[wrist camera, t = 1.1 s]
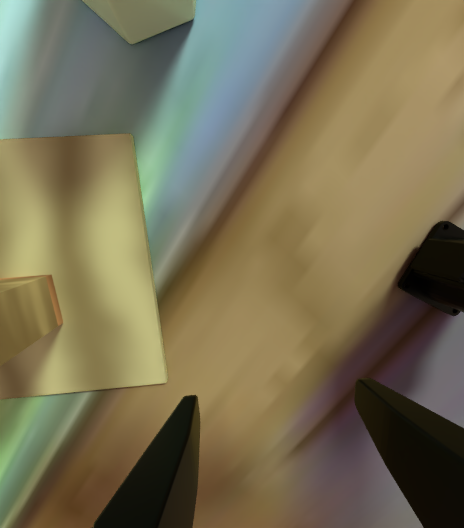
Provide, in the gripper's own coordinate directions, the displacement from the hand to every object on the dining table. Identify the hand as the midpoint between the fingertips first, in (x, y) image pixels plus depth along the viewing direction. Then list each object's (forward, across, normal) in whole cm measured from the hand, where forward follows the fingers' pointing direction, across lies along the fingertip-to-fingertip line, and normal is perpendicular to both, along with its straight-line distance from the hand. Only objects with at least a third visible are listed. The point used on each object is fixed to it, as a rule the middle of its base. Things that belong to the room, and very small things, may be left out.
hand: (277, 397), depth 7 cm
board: (+12, +19, -2) cm, 23 cm away
